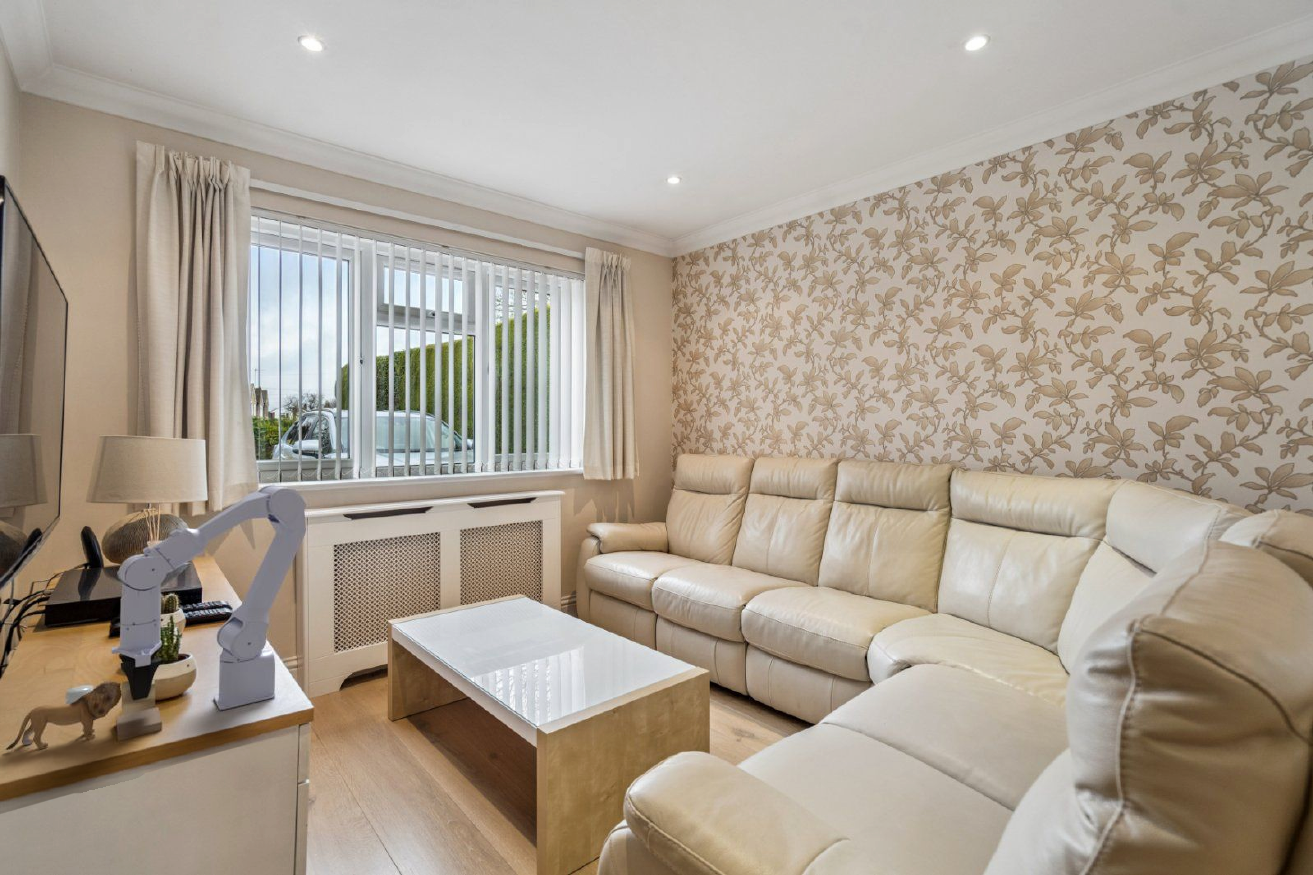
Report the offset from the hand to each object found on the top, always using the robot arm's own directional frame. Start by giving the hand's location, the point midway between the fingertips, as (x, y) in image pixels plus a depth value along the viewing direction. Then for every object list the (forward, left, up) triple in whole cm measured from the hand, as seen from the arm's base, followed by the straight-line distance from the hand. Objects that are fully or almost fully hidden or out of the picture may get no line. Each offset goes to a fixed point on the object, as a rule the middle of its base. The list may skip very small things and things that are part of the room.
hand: (139, 694), depth 112 cm
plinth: (0, 0, -6) cm, 6 cm away
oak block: (0, 0, -2) cm, 2 cm away
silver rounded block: (+8, -20, -6) cm, 22 cm away
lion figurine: (+9, -3, -6) cm, 12 cm away
